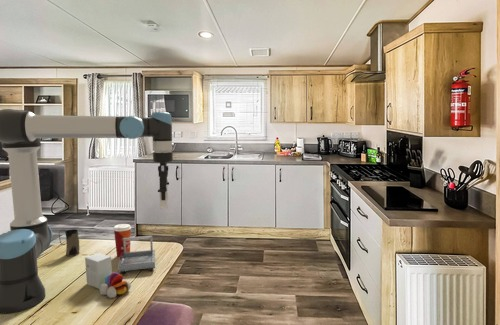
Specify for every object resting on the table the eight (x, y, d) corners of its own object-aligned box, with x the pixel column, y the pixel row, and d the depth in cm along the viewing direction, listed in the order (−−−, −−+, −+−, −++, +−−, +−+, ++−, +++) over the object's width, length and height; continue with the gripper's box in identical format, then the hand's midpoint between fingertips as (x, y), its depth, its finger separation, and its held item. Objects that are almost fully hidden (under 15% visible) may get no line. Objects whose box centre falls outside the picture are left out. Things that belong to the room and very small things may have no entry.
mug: (80, 251, 161) (78, 226, 160) (79, 255, 156) (78, 229, 154) (61, 253, 158) (59, 228, 156) (59, 257, 153) (58, 232, 151)
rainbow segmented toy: (113, 301, 115) (112, 281, 114) (96, 294, 120) (95, 274, 119) (134, 291, 122) (133, 272, 121) (117, 284, 127) (116, 266, 126)
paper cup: (126, 259, 151) (125, 228, 149) (111, 258, 152) (109, 227, 151) (135, 253, 158) (134, 223, 157) (120, 251, 160) (119, 222, 158)
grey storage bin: (118, 275, 135) (117, 249, 134) (122, 261, 148) (121, 238, 147) (154, 271, 139) (154, 246, 137) (155, 258, 152) (154, 235, 151)
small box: (112, 283, 128) (111, 256, 127) (99, 289, 123) (97, 261, 122) (99, 278, 132) (98, 252, 131) (86, 284, 127) (84, 257, 126)
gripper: (172, 154, 123) (173, 211, 126) (172, 149, 147) (173, 197, 150) (150, 154, 122) (152, 212, 124) (154, 149, 146) (156, 198, 148)
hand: (164, 204), depth 137 cm, fingers open, 13 cm apart
